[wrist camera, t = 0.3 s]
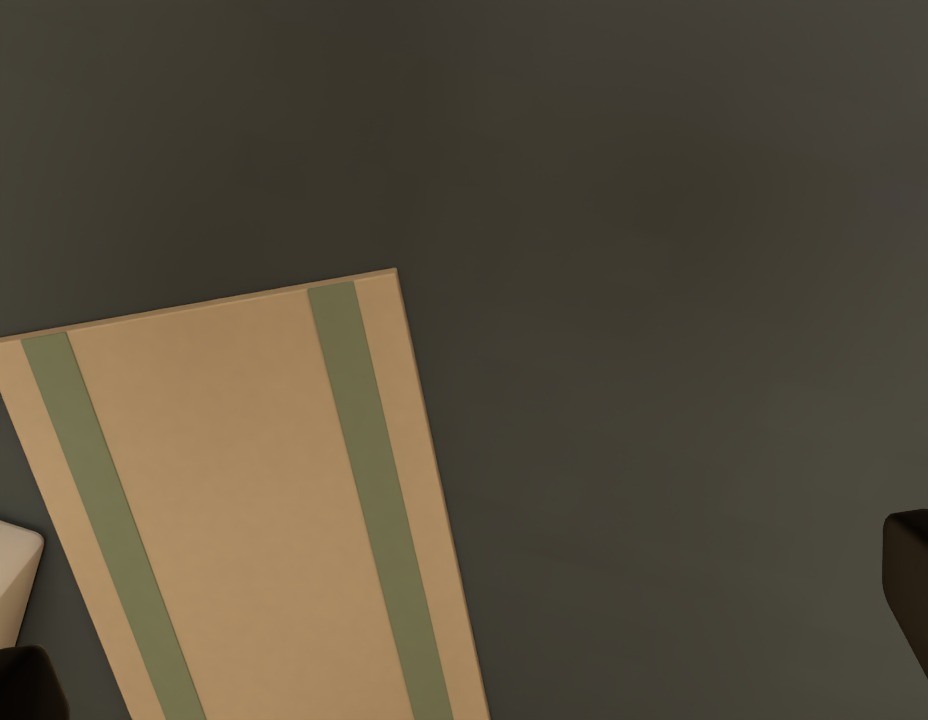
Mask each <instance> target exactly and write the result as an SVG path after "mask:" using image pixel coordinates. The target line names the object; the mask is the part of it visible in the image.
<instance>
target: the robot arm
mask: <svg viewBox="0 0 928 720" xmlns="http://www.w3.org/2000/svg"><path fill="white" fill-rule="evenodd" d="M882 584H883V590H884V594H885V597H886V600H887V602H888V604H889V606H890V608H891V610H892V612H893V614H894V616H895V618H896V620H897V622H898V624H899V625H900V627H901V629H902V631H903V633H904V635H905V637H906V639H907V641H908V642H909V644H910V646H911V648H912V650H913V652H914V654H915V656H916V658H917V660H918V661H919V663H920V665H921V667H922V669H923V671H924V673H925V675H926V677H927V678H928V509H918V510H912V511H905V512H899V513H893V514H890V515H889V516H888V517H887V518H886V519H885V522H884V526H883V560H882ZM0 720H70V708H69V703H68V699H67V697H66V695H65V692H64V690H63V687H62V685H61V682H60V680H59V677H58V675H57V673H56V670H55V668H54V665H53V663H52V660H51V658H50V656H49V654H48V652H47V650H46V649H45V648H44V647H43V646H41V645H39V644H28V645H21V646H15V647H8V648H3V649H0Z"/></svg>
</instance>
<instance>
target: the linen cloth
mask: <svg viewBox="0 0 928 720" xmlns="http://www.w3.org/2000/svg"><path fill="white" fill-rule="evenodd" d="M0 392H1V395H2V397H3V400H4V402H5V405H6V407H7V410H8V412H9V415H10V417H11V420H12V422H13V425H14V427H15V430H16V432H17V435H18V437H19V440H20V442H21V445H22V447H23V450H24V452H25V455H26V457H27V460H28V462H29V465H30V467H31V470H32V472H33V474H34V477H35V479H36V482H37V484H38V487H39V489H40V492H41V494H42V497H43V499H44V502H45V504H46V507H47V509H48V512H49V514H50V517H51V519H52V522H53V524H54V527H55V529H56V532H57V534H58V537H59V539H60V542H61V544H62V547H63V549H64V552H65V554H66V557H67V559H68V561H69V564H70V566H71V569H72V571H73V574H74V576H75V579H76V581H77V584H78V586H79V589H80V591H81V594H82V596H83V599H84V601H85V604H86V606H87V609H88V611H89V614H90V616H91V619H92V621H93V624H94V626H95V629H96V631H97V634H98V636H99V639H100V641H101V643H102V646H103V648H104V651H105V653H106V656H107V658H108V661H109V663H110V666H111V668H112V671H113V673H114V676H115V678H116V681H117V683H118V686H119V688H120V691H121V693H122V696H123V698H124V701H125V703H126V706H127V708H128V711H129V713H130V716H131V718H132V720H491V718H490V713H489V709H488V704H487V699H486V694H485V689H484V685H483V680H482V675H481V670H480V666H479V661H478V656H477V651H476V646H475V642H474V637H473V632H472V627H471V622H470V618H469V613H468V608H467V603H466V598H465V594H464V589H463V584H462V579H461V574H460V570H459V565H458V560H457V555H456V550H455V546H454V541H453V536H452V531H451V526H450V522H449V517H448V512H447V507H446V502H445V498H444V493H443V488H442V483H441V478H440V474H439V469H438V464H437V459H436V454H435V450H434V445H433V440H432V435H431V430H430V426H429V421H428V416H427V411H426V406H425V402H424V397H423V392H422V387H421V382H420V378H419V373H418V368H417V363H416V359H415V354H414V349H413V344H412V339H411V335H410V330H409V325H408V320H407V315H406V311H405V306H404V301H403V296H402V291H401V287H400V282H399V277H398V272H397V269H396V268H391V269H385V270H379V271H374V272H368V273H362V274H357V275H351V276H345V277H340V278H334V279H329V280H323V281H317V282H312V283H306V284H300V285H295V286H289V287H283V288H278V289H272V290H267V291H261V292H255V293H250V294H244V295H238V296H233V297H227V298H221V299H216V300H210V301H204V302H199V303H193V304H188V305H182V306H176V307H171V308H165V309H159V310H154V311H148V312H142V313H137V314H131V315H126V316H120V317H114V318H109V319H103V320H97V321H92V322H86V323H80V324H75V325H69V326H63V327H58V328H52V329H47V330H41V331H35V332H30V333H24V334H18V335H13V336H7V337H1V338H0Z"/></svg>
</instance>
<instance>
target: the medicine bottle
mask: <svg viewBox="0 0 928 720" xmlns="http://www.w3.org/2000/svg"><path fill="white" fill-rule="evenodd" d="M43 546H44V539H43V537H42V536H41V535H40V534H39V533H37V532H35V531H31V530H28V529H25V528H22V527H19V526H16V525H13V524H9V523H6V522H3V521H0V649H3V648H8V647H15V644H16V640H17V637H18V633H19V630H20V626H21V623H22V620H23V616H24V613H25V609H26V606H27V602H28V599H29V595H30V592H31V588H32V585H33V581H34V578H35V574H36V571H37V568H38V564H39V561H40V557H41V554H42V550H43Z"/></svg>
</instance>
